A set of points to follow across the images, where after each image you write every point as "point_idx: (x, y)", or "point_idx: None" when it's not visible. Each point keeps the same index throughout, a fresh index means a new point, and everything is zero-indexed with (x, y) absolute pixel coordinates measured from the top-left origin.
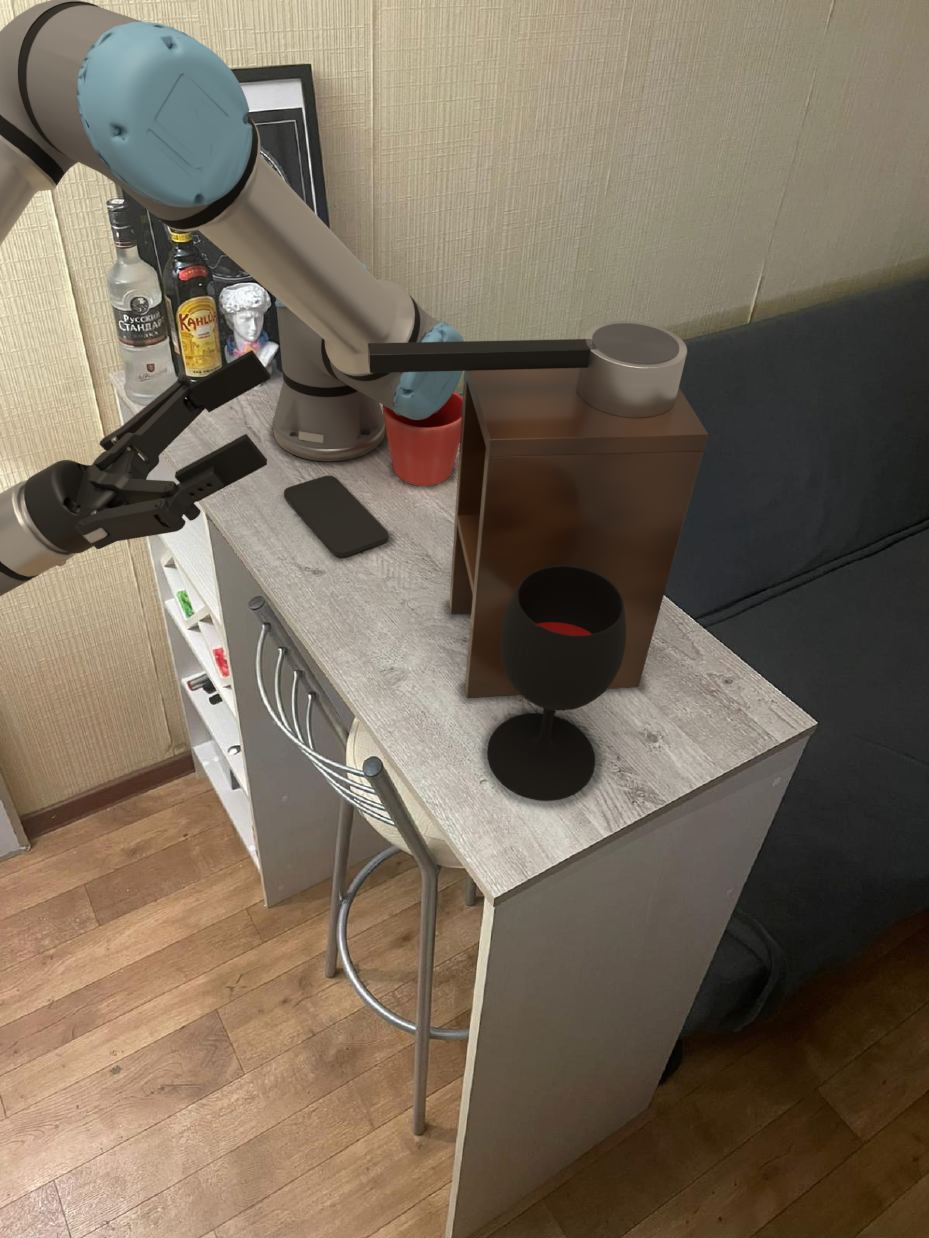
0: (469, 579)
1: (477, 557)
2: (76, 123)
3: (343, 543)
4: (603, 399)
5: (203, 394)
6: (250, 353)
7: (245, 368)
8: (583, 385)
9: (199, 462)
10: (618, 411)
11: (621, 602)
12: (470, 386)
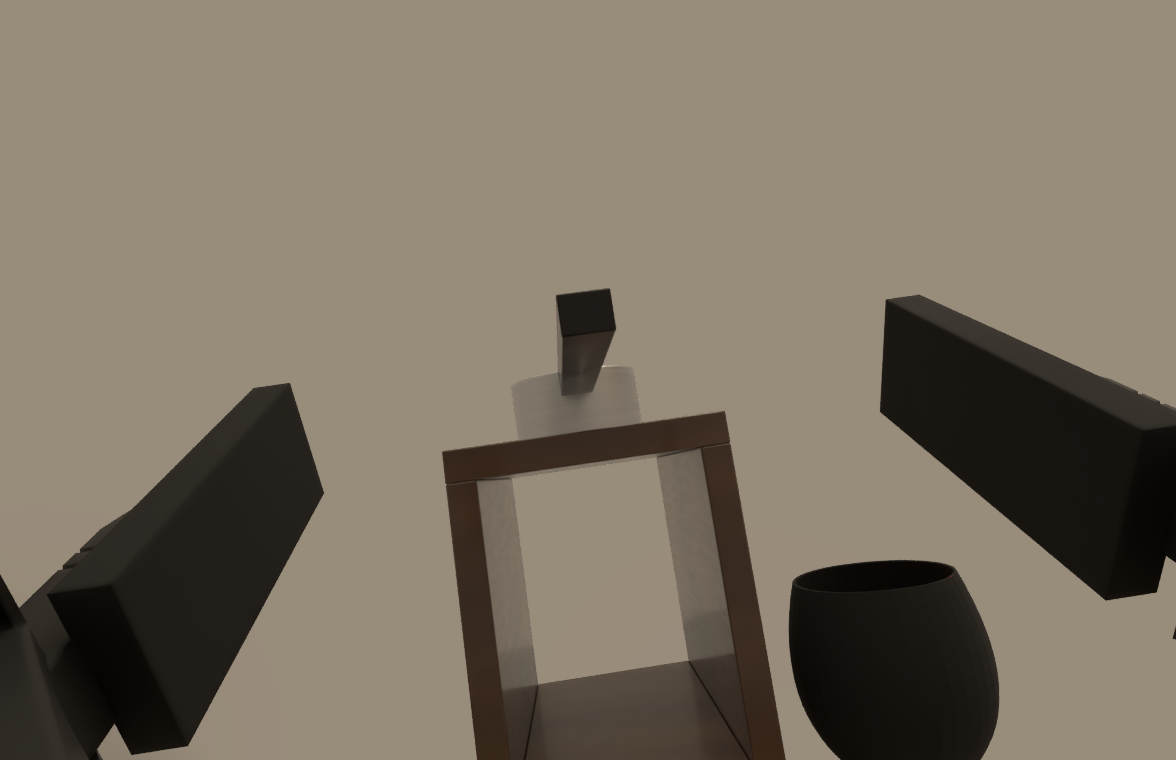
0: None
1: (752, 679)
2: None
3: None
4: (626, 417)
5: (171, 609)
6: (276, 386)
7: (281, 444)
8: (593, 418)
9: (1053, 361)
10: None
11: (852, 564)
12: (519, 461)
